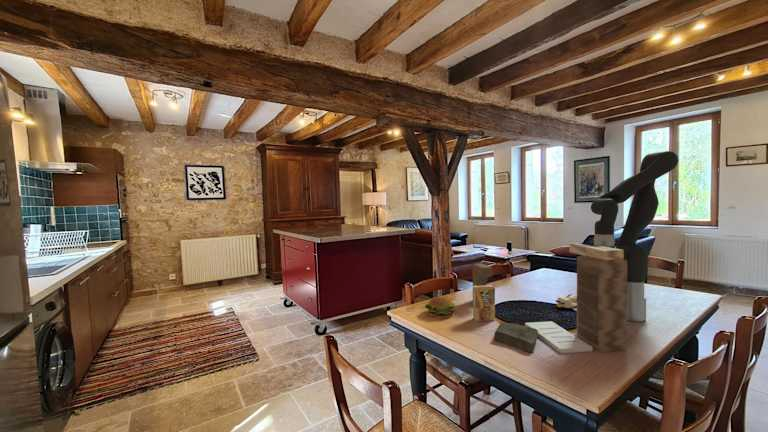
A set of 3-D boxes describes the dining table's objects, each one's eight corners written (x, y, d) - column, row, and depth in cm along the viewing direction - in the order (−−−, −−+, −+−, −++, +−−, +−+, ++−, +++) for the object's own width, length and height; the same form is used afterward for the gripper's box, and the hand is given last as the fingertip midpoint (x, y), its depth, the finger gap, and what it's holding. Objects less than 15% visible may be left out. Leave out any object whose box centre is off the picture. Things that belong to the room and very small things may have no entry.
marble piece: (533, 354, 112) (533, 342, 112) (490, 345, 120) (490, 334, 120) (540, 336, 126) (540, 326, 126) (501, 329, 134) (501, 319, 134)
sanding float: (581, 251, 132) (581, 242, 132) (623, 261, 111) (623, 250, 111) (565, 252, 131) (565, 242, 131) (604, 262, 110) (604, 250, 110)
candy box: (491, 317, 147) (491, 284, 146) (495, 320, 143) (495, 287, 142) (473, 318, 147) (472, 285, 146) (476, 321, 142) (475, 287, 142)
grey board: (551, 324, 137) (551, 321, 137) (592, 351, 113) (592, 346, 113) (524, 326, 136) (524, 322, 136) (560, 353, 112) (560, 348, 112)
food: (440, 307, 163) (439, 291, 163) (460, 314, 151) (460, 298, 151) (419, 312, 155) (419, 296, 155) (439, 321, 144) (439, 304, 143)
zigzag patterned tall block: (600, 335, 125) (601, 255, 123) (626, 350, 113) (627, 261, 111) (576, 337, 124) (576, 256, 122) (599, 352, 112) (600, 262, 110)
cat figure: (588, 302, 167) (549, 303, 161) (590, 286, 167) (550, 286, 161) (606, 308, 158) (565, 310, 152) (607, 291, 158) (566, 292, 151)
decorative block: (493, 305, 162) (492, 267, 161) (483, 306, 161) (482, 268, 160) (482, 299, 173) (481, 263, 172) (472, 300, 172) (472, 263, 171)
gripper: (625, 246, 131) (625, 285, 132) (601, 242, 146) (601, 277, 146) (607, 246, 131) (607, 285, 132) (585, 242, 146) (585, 277, 146)
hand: (604, 281), depth 139 cm, fingers open, 8 cm apart
